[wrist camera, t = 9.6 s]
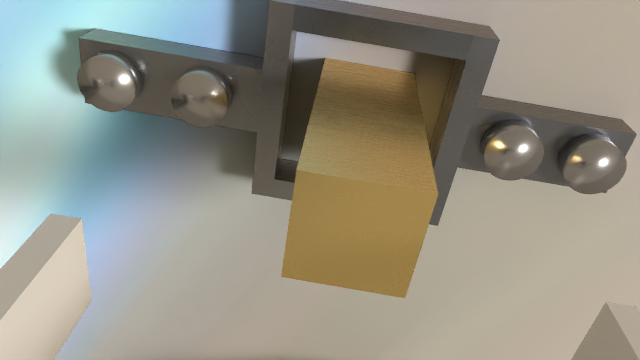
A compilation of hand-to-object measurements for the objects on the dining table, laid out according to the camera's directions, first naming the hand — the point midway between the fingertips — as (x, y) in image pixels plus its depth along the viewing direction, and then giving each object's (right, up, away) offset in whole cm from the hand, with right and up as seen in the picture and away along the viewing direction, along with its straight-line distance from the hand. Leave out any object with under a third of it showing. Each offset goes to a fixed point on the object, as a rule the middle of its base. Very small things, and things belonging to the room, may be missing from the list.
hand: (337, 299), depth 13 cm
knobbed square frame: (+2, +7, +11) cm, 13 cm away
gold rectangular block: (+1, +7, +11) cm, 13 cm away
